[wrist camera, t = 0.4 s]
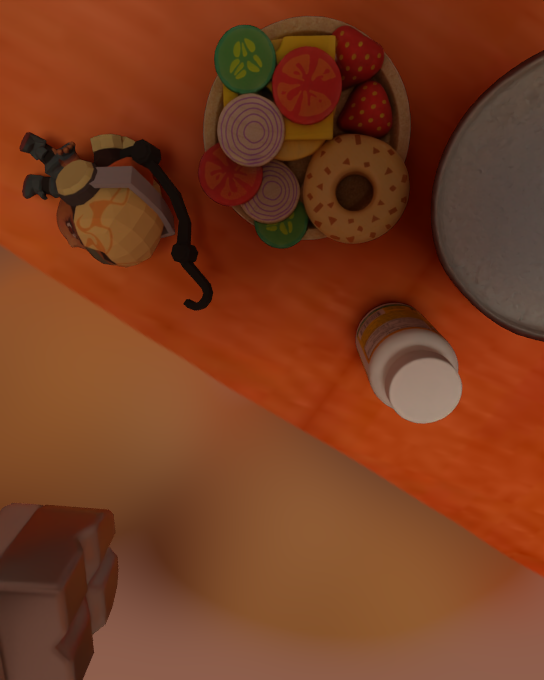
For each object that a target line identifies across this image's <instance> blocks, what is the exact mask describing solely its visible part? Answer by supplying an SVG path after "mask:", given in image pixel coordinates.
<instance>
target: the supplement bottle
mask: <svg viewBox="0 0 544 680" xmlns="http://www.w3.org/2000/svg"><path fill="white" fill-rule="evenodd" d="M356 347H357V350H358V353H359V356H360V358H361V361H362V363H363V366H364V369H365V371H366V374H367V376H368V379H369V382H370V385H371V387H372V389H373V391H374V393H375V394H376V395H377V397H378V398H379V399H380V400H381V401H382V402H383V403H385V404H386V405H387V406H389V407H391V408H393V409H394V410H395V411H396V412H397V413H398V414H399V415H400V416H401V417H402V418H404V419H406V420H408V421H411V422H415V423H431V422H435V421H438V420H440V419H442V418H444V417H446V416H447V415H448V414H450V413H451V412H452V411H453V410H454V408H455V407H456V406H457V404H458V402H459V400H460V397H461V393H462V383H461V379H460V376H459V374H458V361H457V357H456V354H455V352H454V350H453V349H452V347H451V346H450V344H449V343H448V342H447V341H446V340H445V338H444V337H443V336H442V335H441V334H440V333H439V332H438V331H437V330H436V329H435V328H434V327H433V326H432V325H431V324H430V323H429V322H428V321H427V320H426V319H425V318H424V317H423V316H422V315H421V314H420V313H419V312H418V311H417V310H416V309H414V308H413V307H411V306H409V305H406V304H402V303H387V304H383V305H380V306H378V307H376V308H374V309H373V310H371V311H370V312H369V313H368V314H367V315H366V316H365V317H364V318H363V319H362V321H361V322H360V324H359V326H358V329H357V332H356Z"/></svg>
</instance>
